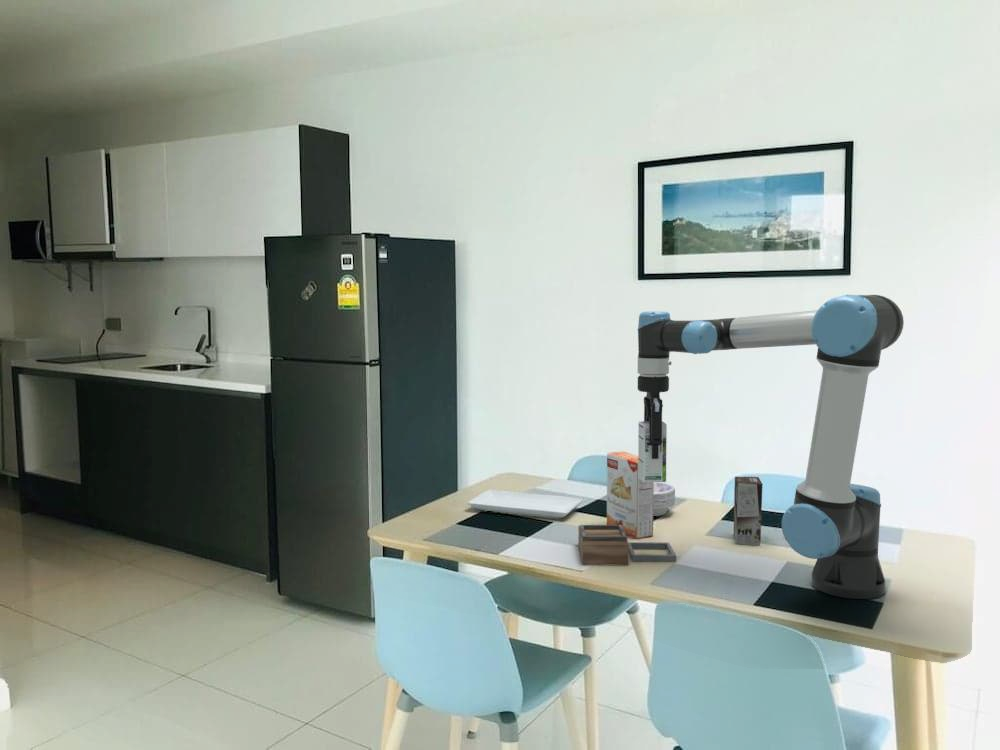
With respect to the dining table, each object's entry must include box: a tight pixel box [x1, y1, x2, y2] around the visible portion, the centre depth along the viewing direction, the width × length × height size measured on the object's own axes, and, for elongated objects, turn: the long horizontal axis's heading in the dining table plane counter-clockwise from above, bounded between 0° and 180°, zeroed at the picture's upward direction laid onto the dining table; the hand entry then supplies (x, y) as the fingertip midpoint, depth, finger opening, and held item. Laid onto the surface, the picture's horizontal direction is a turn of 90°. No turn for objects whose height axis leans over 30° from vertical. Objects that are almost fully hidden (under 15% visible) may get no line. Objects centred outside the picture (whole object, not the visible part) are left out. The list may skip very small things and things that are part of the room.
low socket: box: [628, 541, 677, 563], centre depth 208 cm, size 11×11×2 cm
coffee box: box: [733, 476, 763, 546], centre depth 219 cm, size 9×6×16 cm
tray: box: [466, 489, 584, 520], centre depth 250 cm, size 17×31×4 cm, turn 67°
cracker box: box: [606, 451, 654, 540], centre depth 227 cm, size 14×6×21 cm, turn 27°
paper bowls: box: [653, 482, 676, 517], centre depth 246 cm, size 15×15×8 cm
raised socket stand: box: [577, 524, 630, 566], centre depth 208 cm, size 16×11×6 cm
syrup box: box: [637, 420, 668, 483], centre depth 205 cm, size 6×6×14 cm
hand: (652, 468), depth 206 cm, fingers closed on syrup box, 6 cm apart
